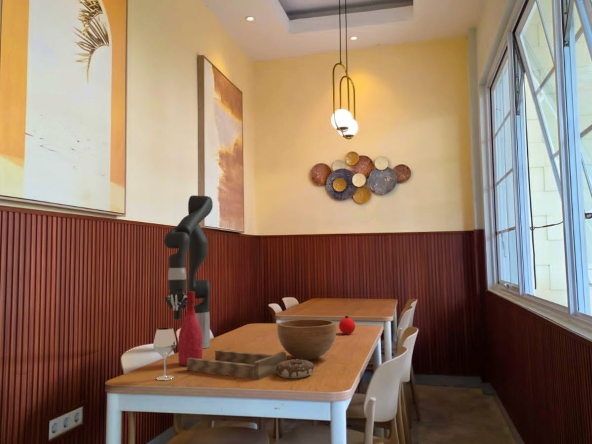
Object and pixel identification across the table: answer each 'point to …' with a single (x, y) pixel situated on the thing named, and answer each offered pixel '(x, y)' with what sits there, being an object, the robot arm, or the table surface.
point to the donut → (294, 368)
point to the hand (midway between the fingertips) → (177, 319)
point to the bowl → (307, 337)
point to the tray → (238, 364)
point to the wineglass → (165, 346)
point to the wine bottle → (190, 334)
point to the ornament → (347, 325)
